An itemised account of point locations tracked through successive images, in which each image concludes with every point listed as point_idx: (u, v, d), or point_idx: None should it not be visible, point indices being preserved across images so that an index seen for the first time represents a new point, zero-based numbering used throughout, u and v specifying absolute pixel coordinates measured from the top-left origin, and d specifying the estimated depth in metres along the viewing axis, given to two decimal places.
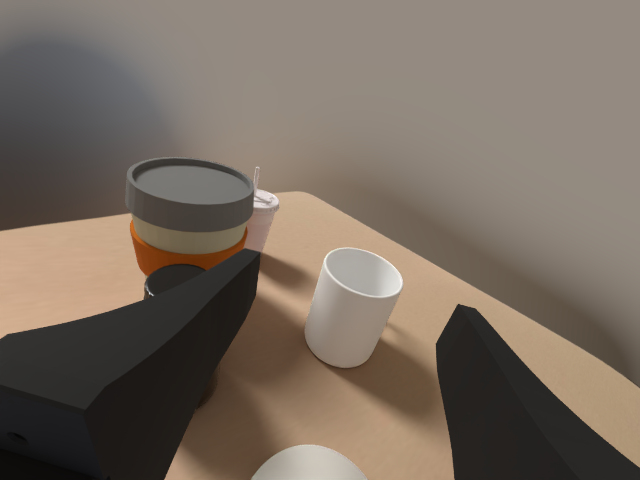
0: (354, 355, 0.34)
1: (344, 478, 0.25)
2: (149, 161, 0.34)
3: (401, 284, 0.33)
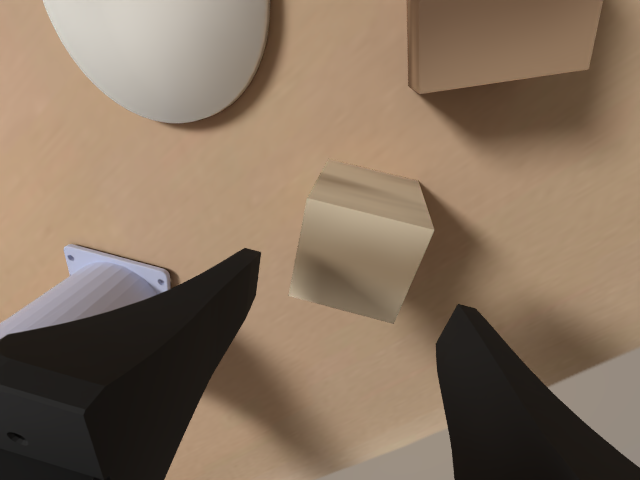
0: None
1: None
2: None
3: None
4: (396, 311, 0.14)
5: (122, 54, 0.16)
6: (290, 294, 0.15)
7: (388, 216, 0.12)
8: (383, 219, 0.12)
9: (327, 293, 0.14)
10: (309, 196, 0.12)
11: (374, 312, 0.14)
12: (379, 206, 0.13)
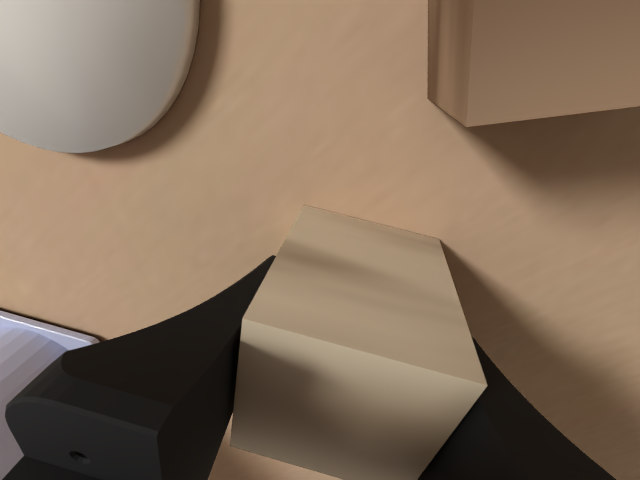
0: None
1: None
2: None
3: None
4: None
5: None
6: (232, 444, 0.09)
7: (397, 355, 0.06)
8: (388, 360, 0.06)
9: (293, 449, 0.08)
10: (247, 313, 0.07)
11: None
12: (380, 323, 0.07)
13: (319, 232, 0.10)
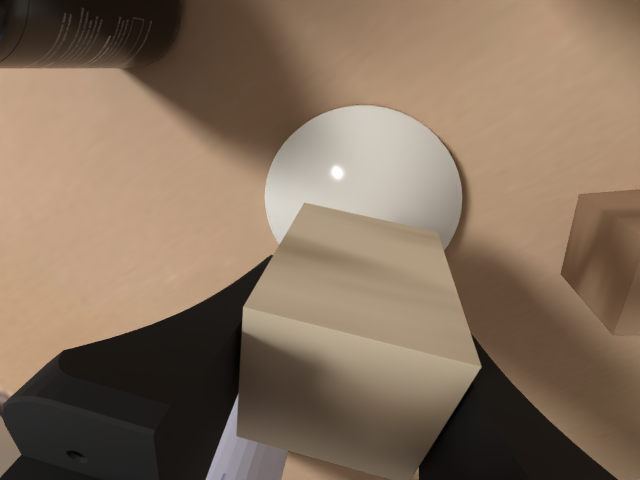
0: None
1: (412, 157, 0.16)
2: None
3: None
4: (411, 470, 0.09)
5: None
6: (238, 434, 0.09)
7: (392, 339, 0.07)
8: (383, 344, 0.07)
9: (297, 438, 0.09)
10: (248, 303, 0.07)
11: (375, 468, 0.09)
12: (377, 310, 0.07)
13: (318, 227, 0.10)
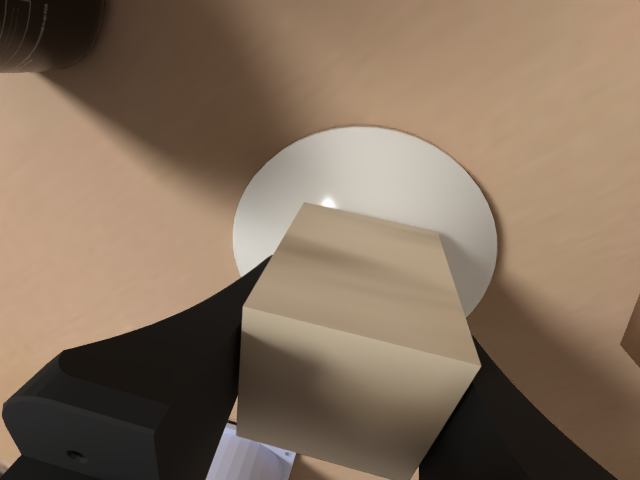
0: None
1: (430, 198, 0.12)
2: None
3: None
4: (411, 469, 0.09)
5: None
6: (238, 434, 0.09)
7: (392, 339, 0.07)
8: (383, 344, 0.07)
9: (297, 437, 0.09)
10: (248, 302, 0.07)
11: (375, 468, 0.09)
12: (377, 309, 0.07)
13: (318, 227, 0.10)
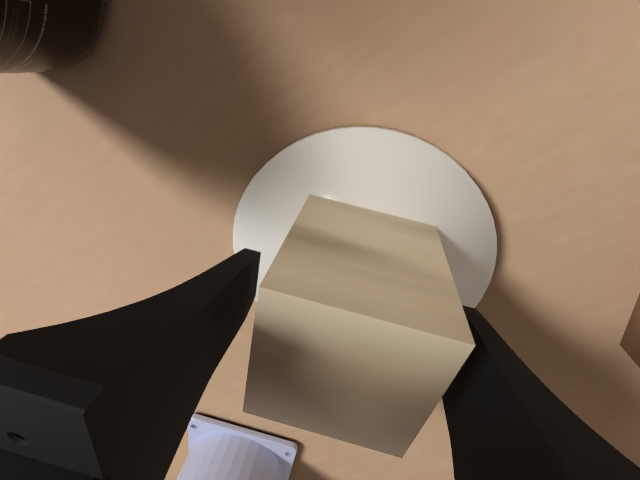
0: None
1: (430, 198, 0.12)
2: None
3: None
4: (406, 444, 0.09)
5: None
6: (245, 410, 0.10)
7: (396, 320, 0.07)
8: (387, 324, 0.07)
9: (301, 413, 0.09)
10: (263, 283, 0.07)
11: (372, 442, 0.09)
12: (381, 294, 0.08)
13: (324, 217, 0.11)
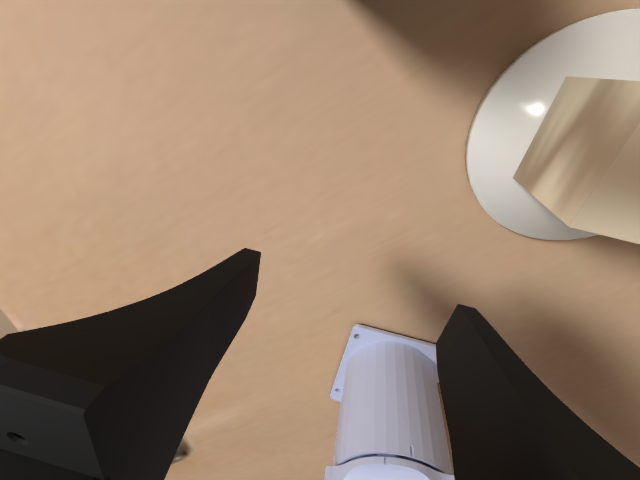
0: None
1: None
2: None
3: None
4: None
5: None
6: (573, 224, 0.12)
7: None
8: None
9: (628, 220, 0.12)
10: None
11: None
12: None
13: None
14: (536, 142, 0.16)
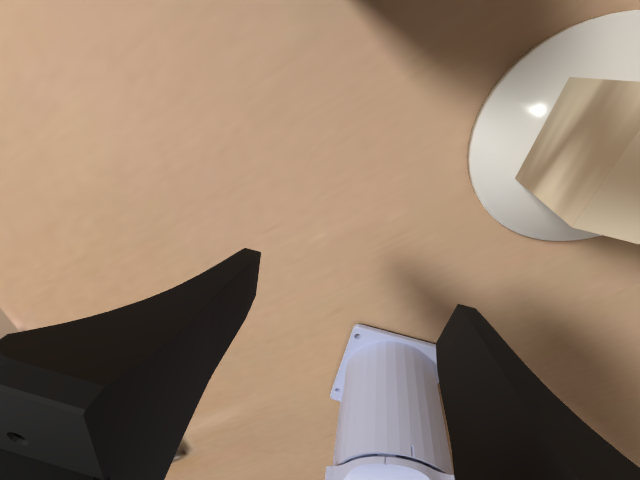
0: None
1: None
2: None
3: None
4: None
5: None
6: (576, 225, 0.12)
7: None
8: None
9: (631, 221, 0.12)
10: None
11: None
12: None
13: None
14: (539, 143, 0.16)
